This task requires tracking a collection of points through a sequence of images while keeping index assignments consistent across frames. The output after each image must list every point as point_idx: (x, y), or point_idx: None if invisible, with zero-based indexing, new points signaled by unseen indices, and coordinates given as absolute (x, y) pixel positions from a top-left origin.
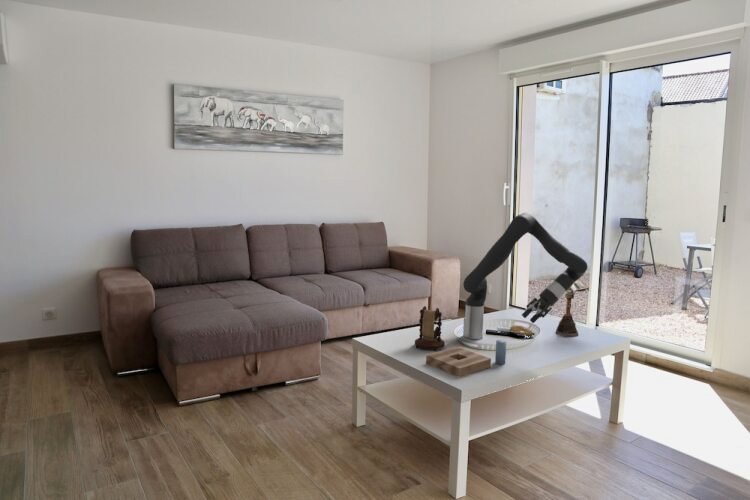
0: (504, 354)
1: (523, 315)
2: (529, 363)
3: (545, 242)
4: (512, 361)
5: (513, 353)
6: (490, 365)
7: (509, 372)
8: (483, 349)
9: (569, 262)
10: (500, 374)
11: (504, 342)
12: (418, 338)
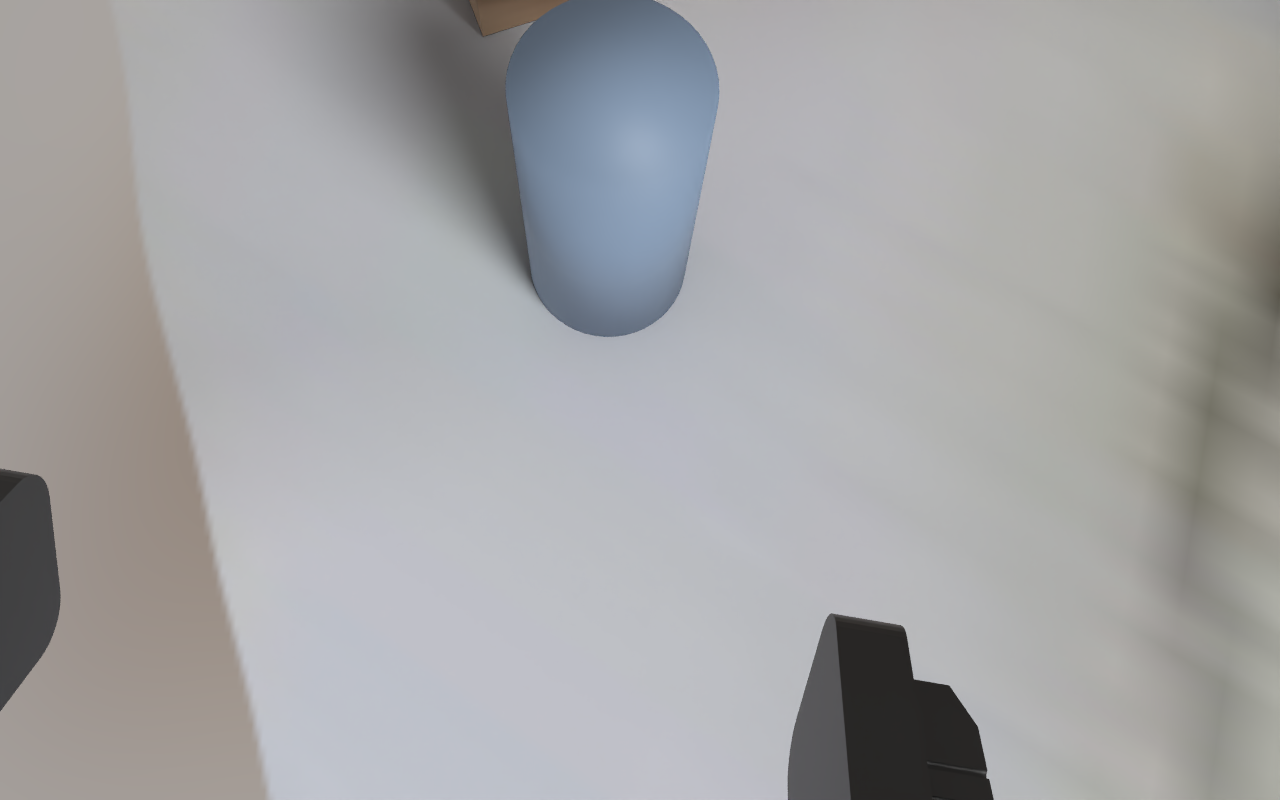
0: (525, 219)
1: (822, 667)
2: (445, 717)
3: None
4: (614, 487)
5: None
6: (480, 18)
7: (212, 181)
8: (1262, 339)
9: None
10: (193, 25)
11: (529, 111)
12: None
